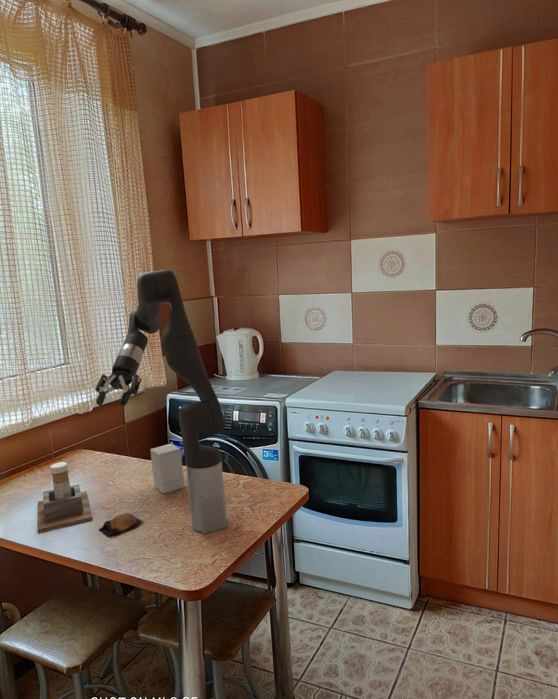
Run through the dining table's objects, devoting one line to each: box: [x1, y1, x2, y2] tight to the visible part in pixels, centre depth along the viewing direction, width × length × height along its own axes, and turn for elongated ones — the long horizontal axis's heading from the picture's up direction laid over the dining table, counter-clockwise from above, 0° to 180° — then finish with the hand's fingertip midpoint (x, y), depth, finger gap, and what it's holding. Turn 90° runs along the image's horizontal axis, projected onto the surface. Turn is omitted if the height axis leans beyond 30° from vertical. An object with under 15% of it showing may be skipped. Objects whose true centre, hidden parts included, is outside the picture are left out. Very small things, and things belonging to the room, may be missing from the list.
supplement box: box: [150, 443, 185, 494], centre depth 172 cm, size 7×7×13 cm
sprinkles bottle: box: [49, 461, 71, 500], centre depth 159 cm, size 5×5×14 cm
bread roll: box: [98, 513, 145, 538], centre depth 148 cm, size 11×8×4 cm
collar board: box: [37, 484, 94, 534], centre depth 159 cm, size 20×14×6 cm
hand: (110, 404), depth 168 cm, fingers open, 8 cm apart
